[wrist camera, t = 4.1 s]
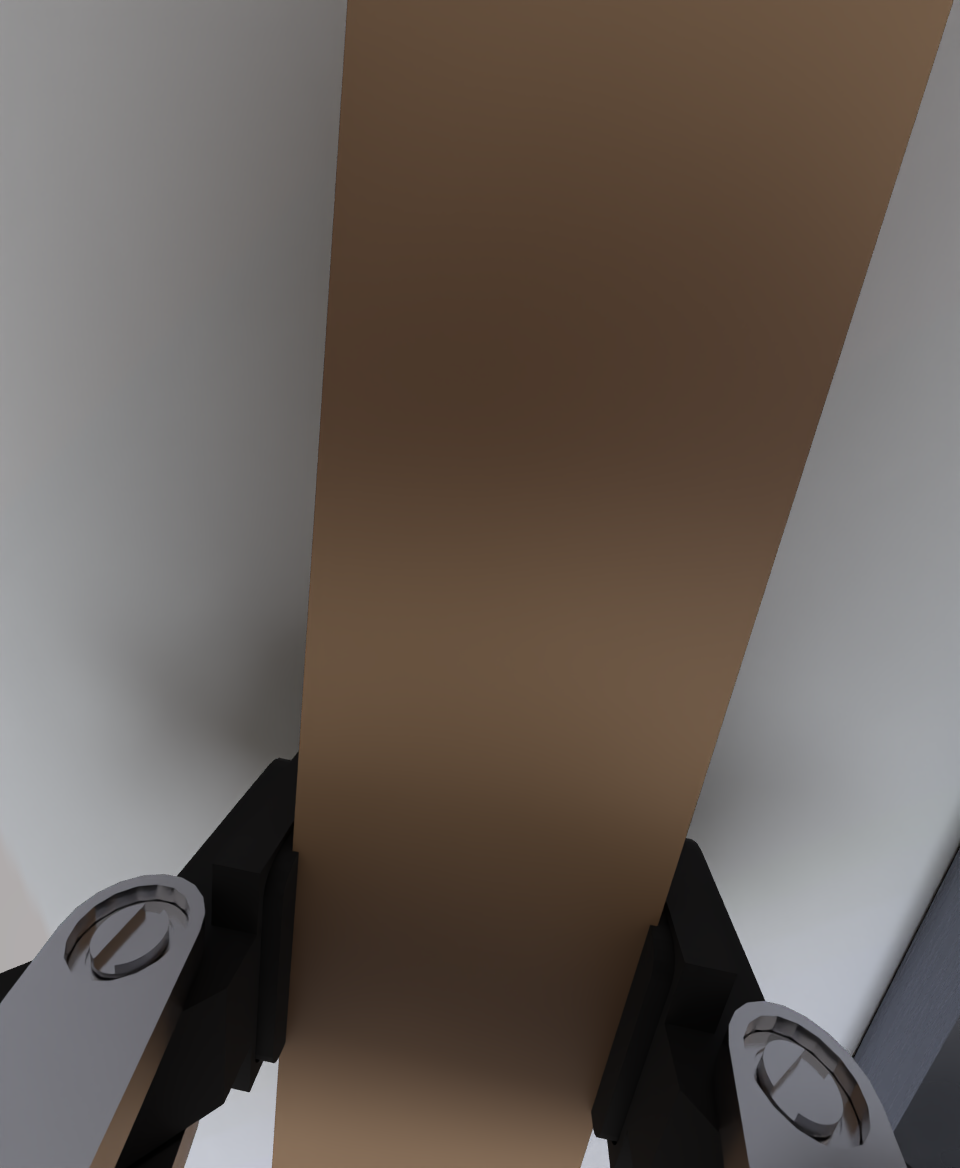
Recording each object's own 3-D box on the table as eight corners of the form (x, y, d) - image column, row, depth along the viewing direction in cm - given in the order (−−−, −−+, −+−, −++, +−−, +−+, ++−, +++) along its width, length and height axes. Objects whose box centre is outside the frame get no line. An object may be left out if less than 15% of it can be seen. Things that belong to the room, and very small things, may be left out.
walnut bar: (473, -43, 7) (394, -724, 3) (787, -8, 6) (1172, -689, 3) (335, 1156, 13) (253, 1452, 9) (488, 1193, 13) (470, 1511, 9)
